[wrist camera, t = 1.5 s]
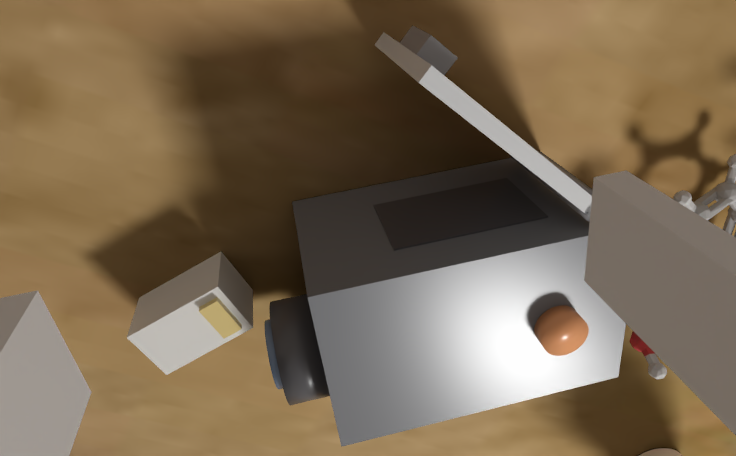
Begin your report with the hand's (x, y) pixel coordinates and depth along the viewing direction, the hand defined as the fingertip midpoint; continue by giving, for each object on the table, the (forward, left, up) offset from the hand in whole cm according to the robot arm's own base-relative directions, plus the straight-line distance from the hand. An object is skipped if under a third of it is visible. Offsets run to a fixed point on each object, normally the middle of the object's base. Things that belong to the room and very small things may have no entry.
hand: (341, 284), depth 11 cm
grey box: (+5, -12, -20) cm, 24 cm away
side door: (+10, -3, -19) cm, 22 cm away
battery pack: (-8, -12, -20) cm, 25 cm away
